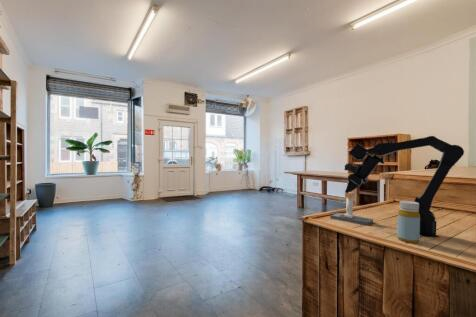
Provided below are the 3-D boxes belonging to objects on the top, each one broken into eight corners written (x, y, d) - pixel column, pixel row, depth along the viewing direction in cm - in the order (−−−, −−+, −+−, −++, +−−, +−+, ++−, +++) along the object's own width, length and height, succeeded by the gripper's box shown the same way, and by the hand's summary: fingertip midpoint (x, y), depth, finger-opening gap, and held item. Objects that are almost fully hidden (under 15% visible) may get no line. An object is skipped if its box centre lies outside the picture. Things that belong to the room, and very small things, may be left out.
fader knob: (355, 216, 123) (355, 192, 123) (351, 218, 120) (352, 193, 120) (346, 215, 126) (347, 191, 126) (343, 216, 122) (344, 192, 122)
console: (373, 222, 119) (373, 219, 119) (368, 225, 113) (368, 222, 113) (336, 215, 132) (336, 212, 132) (330, 218, 125) (330, 215, 125)
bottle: (423, 244, 89) (424, 204, 89) (402, 242, 91) (403, 203, 91) (413, 238, 96) (414, 201, 96) (394, 236, 98) (395, 200, 98)
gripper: (356, 157, 126) (339, 180, 132) (348, 156, 112) (329, 183, 117) (376, 169, 121) (357, 193, 126) (370, 170, 106) (349, 198, 111)
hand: (348, 191), depth 120 cm, fingers open, 9 cm apart
